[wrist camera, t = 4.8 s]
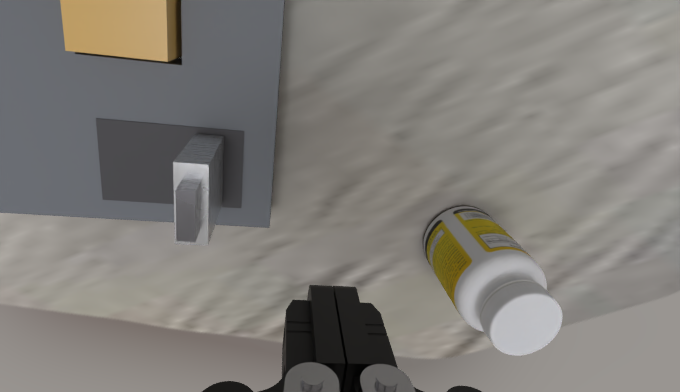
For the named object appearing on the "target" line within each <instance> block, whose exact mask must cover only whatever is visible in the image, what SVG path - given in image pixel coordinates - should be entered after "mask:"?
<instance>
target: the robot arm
mask: <svg viewBox="0 0 680 392" xmlns="http://www.w3.org/2000/svg"><path fill="white" fill-rule="evenodd" d="M203 392H253V391H252V390H251V389H250V388H249V387H248V386H246V385H244V384H242V383H239V382H233V381H227V382H226V381H225V382H220V383H216V384H213V385H212V386H210V387H208V388H206V389H205V390H204V391H203ZM259 392H423V391H420V390H418V389H416V388H415V387H413V385H412V383H411V381H410V379H409V377H408V376H407V375H406V374H405V373H404V372H403V371H401V370H400V369H398V368H397V365H396V361H395V358H394V355H393V352H392V348H391V345H390V342H389V339H388V336H387V333H386V329H385V327H384V323H383V320H382V317H381V314H380V312H379V311H378V310H377V309H376V308H375V307H374V306H373V305H372V304H371V303H360V301H359V297H358V293H357V289H356V287H344V286H333V287H332V286H322V285H310V286H309V290H308V299H307V301H306V300H293V301H292V302H291V303H290V305H289V306H288V308H287V309H286V317H285V328H284V338H283V348H282V379H281V380H280V381H279V383H277V384H276V385H274V386H273V387H271V388H269V389H266V390H263V391H259ZM447 392H481V391H480V390H477V389H475V388H472V387H468V386H456V387H453V388H451V389H449V390H448V391H447Z"/></svg>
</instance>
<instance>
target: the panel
mask: <svg viewBox="0 0 680 392" xmlns="http://www.w3.org/2000/svg"><path fill="white" fill-rule="evenodd" d="M284 2H285V0H181V25H182V59H180V58H176V59H174V60H171V61H168V62H165V61H156V60H147V59H137V58H128V57H119V56H109V55H100V54H91V53H81V52H72V51H65V42H64V32H63V23H62V13H61V3H60V0H0V213H17V214H35V215H52V216H70V217H88V218H106V219H123V220H141V221H159V222H174V182H173V162H174V160H175V159H176V158H177V156H178V155H179V154H180V153H181V151H182V150H183V149H184V147H185V146H186V145H187V144H188V142H189V141H190V140H191V138H192V137H193V136H194V135H195V134H205V135H217V136H224V150H223V196H222V206H221V209H220V212H219V215H218V218H217V221H216V224H215V225H230V226H248V227H265V228H269V226H270V214H271V200H272V185H273V170H274V154H275V139H276V124H277V109H278V94H279V78H280V63H281V48H282V33H283V18H284Z"/></svg>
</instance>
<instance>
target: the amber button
mask: <svg viewBox="0 0 680 392" xmlns="http://www.w3.org/2000/svg"><path fill="white" fill-rule="evenodd" d="M60 3H61V13H62V23H63V32H64V42H65V51H72V52H81V53H91V54H100V55H109V56H119V57H128V58H137V59H147V60H156V61H165V62H168V61H171V60H174V59H176V58H179V57H181V56H182V25H181V0H60Z"/></svg>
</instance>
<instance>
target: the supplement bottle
mask: <svg viewBox="0 0 680 392" xmlns="http://www.w3.org/2000/svg"><path fill="white" fill-rule="evenodd" d="M424 252H425V255H426V258H427V260H428V262H429V264H430V265H431V267H432V269H433V270H434V272H435V274H436V276H437V277H438V279H439V281H440V282H441V284H442V286H443V287H444V289H445V291H446V292H447V294H448V296H449V297H450V299H451V301H452V302H453V304H454V306H455V307H456V309H457V311H458V312H459V314H460V315H461V316H462V318H463V319H464V320H465V321H466V322H467V323H468V324H469V325H470V326H472V327H473V328H475V329H477V330H479V331H482V332H485V334H486V335H487V336H488V338H489V339H490V341H491V342H492V344H493V345H494V346H495V347H496V348H497V349H498V350H499V351H501V352H503V353H505V354H509V355H526V354H530V353H533V352H535V351H537V350H540V349H541V348H543V347H544V346H546V345H547V344H548V343H549V342H551V341H552V339H553V338H554V337H555V336H556V334H557V333H558V331H559V329H560V327H561V323H562V311H561V308H560V306H559V304H558V302H557V301H556V300H555V299H554V298H553V297H552V296H551V294H550V293H549V292H548V291H547V282H546V278H545V275H544V273H543V271H542V269H541V267H540V266H539V265H538V263H537V262H536V261H535V260H534V259H533V258H532V257H531V256H530V255H529V254H528V253H527V252H526V251H525V250H524V249H523V248H522V247H521V246H520V245H519V244H518V243H517V242H516V241H515V240H514V239H513V238H512V237H511V236H509V235H508V234H507V233H506V232H505V231H504V230H503V229H502V228H501V227H500V226H499V225H498V224H497V223H496V222H495V221H494V220H493V219H492V218H491V217H490V216H489V215H487V214H486V213H485V212H483V211H482V210H480V209H477V208H474V207H468V206H461V207H455V208H452V209H449V210H447V211H445V212H443V213H442V214H440V215H439V216H438V217H437V218H436V219H435V220H434V221H433V222H432V223H431V224H430V226H429V227H428V229H427V231H426V233H425V237H424Z"/></svg>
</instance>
